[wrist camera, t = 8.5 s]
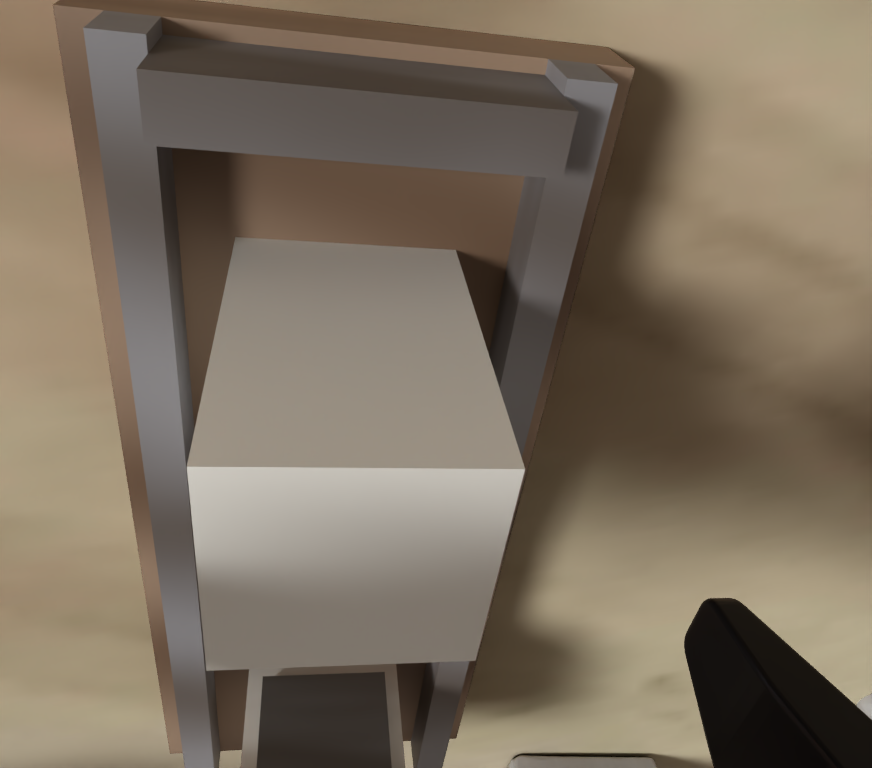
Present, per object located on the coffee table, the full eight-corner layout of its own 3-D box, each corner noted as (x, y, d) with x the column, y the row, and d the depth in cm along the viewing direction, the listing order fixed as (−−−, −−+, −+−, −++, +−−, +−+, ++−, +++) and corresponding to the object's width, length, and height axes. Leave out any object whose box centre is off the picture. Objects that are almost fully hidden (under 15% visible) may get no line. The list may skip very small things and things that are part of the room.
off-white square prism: (427, 433, 17) (470, 679, 12) (242, 430, 16) (208, 690, 11) (455, 250, 14) (525, 469, 9) (235, 236, 13) (187, 466, 9)
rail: (449, 696, 26) (488, 958, 20) (177, 707, 24) (130, 996, 18) (607, 47, 14) (831, 219, 8) (79, -13, 12) (-160, 143, 6)
